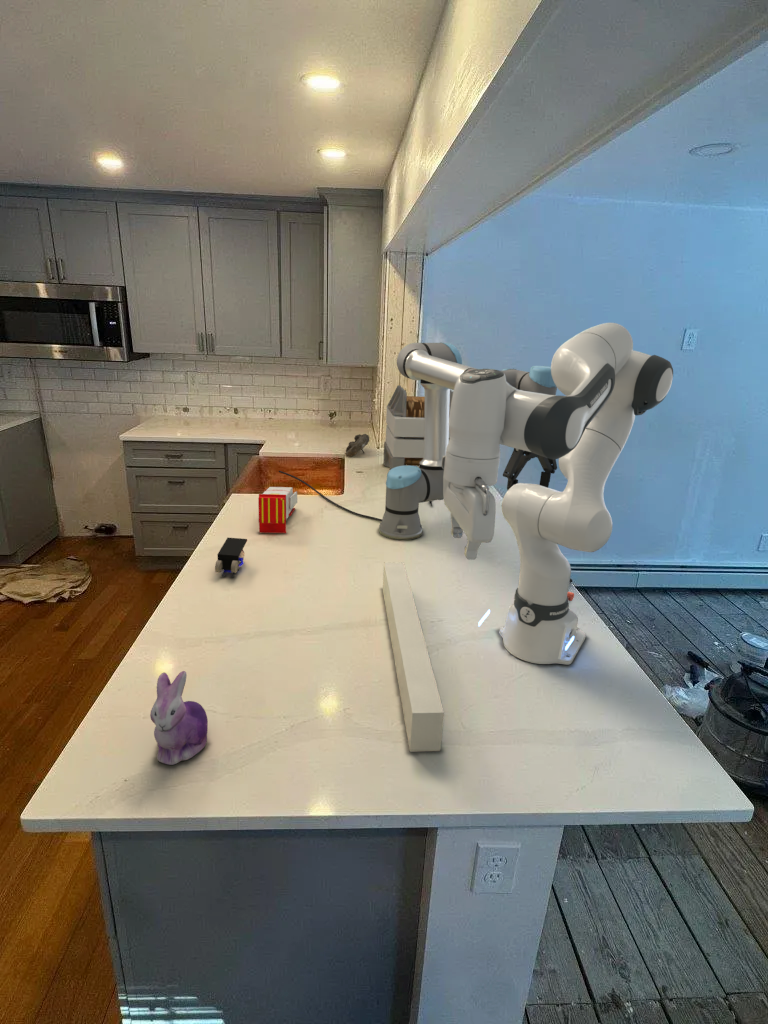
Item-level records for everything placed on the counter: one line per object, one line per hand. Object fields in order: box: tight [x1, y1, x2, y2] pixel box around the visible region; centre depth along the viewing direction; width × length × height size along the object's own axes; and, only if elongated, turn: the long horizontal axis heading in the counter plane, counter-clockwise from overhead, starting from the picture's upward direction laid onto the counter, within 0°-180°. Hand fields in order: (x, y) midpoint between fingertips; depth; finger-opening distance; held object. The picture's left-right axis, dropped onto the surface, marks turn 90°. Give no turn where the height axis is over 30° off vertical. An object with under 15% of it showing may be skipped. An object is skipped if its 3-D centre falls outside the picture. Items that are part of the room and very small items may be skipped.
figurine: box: [149, 670, 209, 766], centre depth 98 cm, size 9×10×15 cm
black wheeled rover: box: [214, 537, 248, 578], centre depth 166 cm, size 7×8×15 cm
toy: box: [257, 486, 298, 534], centre depth 206 cm, size 12×13×30 cm
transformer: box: [383, 384, 454, 471], centre depth 268 cm, size 34×33×41 cm
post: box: [382, 561, 445, 753], centre depth 130 cm, size 62×6×8 cm, turn 5°
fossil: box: [345, 433, 370, 458], centre depth 306 cm, size 22×10×15 cm
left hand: (527, 497), depth 163 cm, fingers open, 13 cm apart
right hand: (463, 546), depth 99 cm, fingers open, 8 cm apart
